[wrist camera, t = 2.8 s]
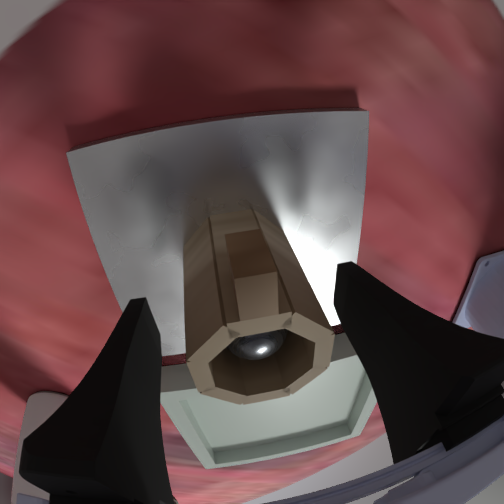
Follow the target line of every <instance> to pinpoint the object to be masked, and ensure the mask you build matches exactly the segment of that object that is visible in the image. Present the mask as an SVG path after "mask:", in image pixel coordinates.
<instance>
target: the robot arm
mask: <svg viewBox="0 0 504 504" xmlns="http://www.w3.org/2000/svg"><path fill="white" fill-rule="evenodd" d="M333 305H334V308H335V311H336V313H337V316H338V319H339V321H340V324H341V326H342V328H343V330H344V332H345V333H346V335H347V337H348V339H349V341H350V343H351V345H352V346H353V348H354V350H355V352H356V354H357V356H358V358H359V360H360V361H361V363H362V365H363V367H364V369H365V371H366V373H367V376H368V378H369V380H370V383H371V386H372V388H373V391H374V394H375V397H376V399H377V402H378V405H379V408H380V412H381V415H382V418H383V421H384V425H385V428H386V432H387V436H388V440H389V444H390V449H391V453H392V458H393V463H394V465H391V466H389V467H387V468H384V469H382V470H379V471H376V472H374V473H371V474H368V475H366V476H363V477H361V478H358V479H355V480H352V481H349V482H346V483H343V484H339V485H336V486H333V487H330V488H326V489H323V490H319V491H316V492H312V493H308V494H304V495H300V496H296V497H292V498H288V499H283V500H278V501H273V502H269V503H264V504H345V503H349V502H352V501H354V500H357V499H360V498H363V497H366V496H368V495H371V494H373V493H376V492H379V491H381V490H384V489H386V488H388V487H391V486H393V485H395V484H397V483H400V482H402V481H404V480H407V479H409V478H411V477H413V476H414V478H412V479H411V480H409V481H407V482H405V483H403V484H401V485H399V486H397V487H395V488H393V489H391V490H389V491H388V493H387V494H386V495H384V496H383V497H381V498H379V499H378V500H376V501H374V503H373V504H465V503H466V502H467V501H469V500H470V499H472V498H473V497H475V496H476V495H477V494H479V493H480V492H481V491H483V490H484V489H485V488H487V487H488V486H489V485H490V484H492V483H493V482H494V481H496V480H497V479H498V478H499V477H500V476H502V475H503V474H504V398H503V397H502V395H501V394H503V393H504V389H503V387H502V386H501V383H502V382H503V381H504V251H501V252H497V253H494V254H491V255H487V256H484V257H481V258H480V259H478V261H477V263H476V265H475V268H474V271H473V274H472V276H471V279H470V281H469V284H468V287H467V289H466V292H465V294H464V296H463V299H462V301H461V304H460V306H459V308H458V310H457V313H456V315H455V317H454V319H453V322H450V321H447V320H445V319H443V318H441V317H439V316H437V315H435V314H433V313H431V312H429V311H427V310H425V309H423V308H421V307H419V306H418V305H416V304H414V303H413V302H411V301H409V300H408V299H406V298H405V297H403V296H401V295H400V294H398V293H397V292H395V291H394V290H392V289H391V288H389V287H388V286H386V285H385V284H384V283H382V282H381V281H379V280H378V279H376V278H375V277H374V276H372V275H371V274H369V273H368V272H367V271H365V270H364V269H362V268H361V267H360V266H358V265H357V264H355V263H354V262H352V261H350V262H345V263H339V264H337V270H336V280H335V289H334V297H333ZM469 327H472V328H473V329H474V331H473V330H470V329H467V328H469ZM161 370H162V350H161V335H160V332H159V330H158V327H157V325H156V322H155V320H154V317H153V314H152V312H151V309H150V307H149V304H148V301H147V299H146V297H142V298H136V299H130V301H129V302H128V304H127V306H126V308H125V310H124V311H123V313H122V315H121V317H120V319H119V321H118V323H117V325H116V326H115V328H114V330H113V332H112V334H111V335H110V337H109V339H108V341H107V342H106V344H105V346H104V347H103V349H102V351H101V352H100V354H99V356H98V357H97V359H96V360H95V362H94V364H93V365H92V367H91V368H90V370H89V371H88V372H87V374H86V375H85V377H84V378H83V379H82V381H81V382H80V383H79V385H78V386H77V387H76V388H75V389H74V391H73V392H72V393H71V394H70V395H69V397H68V398H67V399H66V400H65V401H64V402H63V404H62V405H61V406H60V407H59V408H58V409H57V410H56V411H55V412H54V413H53V414H52V415H51V416H50V417H49V418H48V419H47V420H46V421H45V422H44V423H43V424H41V425H40V426H39V427H38V428H37V429H36V430H34V431H33V432H32V433H31V434H30V435H29V436H27V437H26V438H25V439H24V440H23V445H22V451H21V458H20V465H19V474H20V476H21V477H22V478H23V479H24V480H26V481H27V482H29V483H31V484H33V485H34V486H36V487H38V488H40V489H42V490H44V491H45V492H47V493H49V494H50V496H49V500H46V499H43V498H39V497H35V496H30V495H26V494H22V493H18V494H17V501H16V504H174V500H173V496H172V491H171V487H170V483H169V477H168V472H167V467H166V461H165V454H164V447H163V440H162V430H161V420H160V395H161Z"/></svg>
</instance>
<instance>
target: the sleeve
mask: <svg viewBox="0 0 504 504" xmlns="http://www.w3.org/2000/svg"><path fill="white" fill-rule="evenodd" d="M183 282H184V322H185V346H186V363H187V366H188V368H189V371H190V373H191V376H192V378H193V381H194V383H195V386H196V388H197V390H198V392H200V394H203V395H206V396H210V397H213V398H217V399H220V400H224V401H227V402H231V403H235V404H239V405H241V404H242V403H243V405H246V404H251V403H257V402H262V401H267V400H272V399H277V398H281V397H286V396H290V394H294V393H295V392H297V391H298V390H300V389H301V388H302V387H304V386H305V385H307V384H308V383H309V382H311V381H312V380H313V379H315V378H316V377H317V376H319V375H320V374H321V373H323V372H324V371H325V370H327V369H328V368H327V367H329V366H330V360H331V355H332V349H333V343H334V337H335V333H334V331H333V329H332V327H331V325H330V323H329V321H328V319H327V317H326V315H325V313H324V311H323V308H322V306H321V304H320V302H319V300H318V298H317V296H316V294H315V292H314V290H313V288H312V286H311V284H310V282H309V280H308V278H307V276H306V274H305V272H304V270H303V268H302V266H301V264H300V262H299V260H298V258H297V256H296V254H295V253H294V251H293V249H292V247H291V245H290V243H289V241H288V239H287V237H286V235H285V233H284V231H283V230H282V229H280V228H279V227H278V226H276V225H275V224H273V223H272V222H271V221H269V220H268V219H266V218H265V217H264V216H262V215H261V214H259V213H258V212H256V211H255V210H253V211H252V210H251V209H249V210H242V211H235V212H229V213H222V214H216V215H210V218H208V217H207V218H206V219H205V220H204V222H203V223H202V224H201V225H200V227H199V228H198V229H197V230H196V232H195V233H194V234H193V235H192V237H191V238H190V239H189V240H188V242H187V243H186V244H185V245H184V249H183ZM280 329H287V330H288V333H287V336H286V339H285V341H284V343H283V344H282V346H281V347H280V348H279V349H278V350H277V351H276V352H275V353H274V354H272V355H270V356H269V357H266V358H263V359H259V360H248V359H243V358H240V357H238V356H236V355H234V354H233V353H231V352H230V351H229V350H228V349H227V348H226V347H227V346H228V345H229V344H230V343H231V342H232V341H233V340H234V339H235V338H237V337H243V336H248V335H254V334H259V333H264V332H270V331H275V330H280Z"/></svg>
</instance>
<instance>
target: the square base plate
mask: <svg viewBox="0 0 504 504" xmlns="http://www.w3.org/2000/svg"><path fill="white" fill-rule="evenodd" d="M368 131H369V111H367V110H365V109H362V108H317V109H296V110H280V111H268V112H257V113H247V114H238V115H229V116H221V117H214V118H207V119H200V120H193V121H187V122H181V123H175V124H170V125H164V126H159V127H154V128H149V129H144V130H139V131H135V132H130V133H126V134H122V135H117V136H113V137H109V138H105V139H101V140H97V141H93V142H90V143H86V144H82V145H79V146H75V147H72V148H71V149H70V150H69V151H68V152H66V154H67V158H68V162H69V165H70V169H71V173H72V176H73V180H74V183H75V186H76V190H77V193H78V196H79V200H80V203H81V206H82V209H83V212H84V215H85V218H86V221H87V224H88V227H89V230H90V233H91V235H92V238H93V241H94V244H95V246H96V249H97V252H98V254H99V257H100V260H101V262H102V265H103V267H104V270H105V272H106V275H107V277H108V280H109V282H110V284H111V287H112V289H113V292H114V294H115V296H116V299H117V301H118V303H119V305H120V308H121V310H122V312H123V311H124V310H125V308H126V306H127V304H128V302H129V301H130V299H136V298H142V297H146V299H147V301H148V304H149V307H150V309H151V312H152V314H153V317H154V320H155V322H156V325H157V327H158V330H159V332H160V335H161V350H162V356H168V355H176V354H183V353H186V346H185V322H184V282H183V249H184V245H185V244H186V243H187V242H188V240H189V239H190V238H191V237H192V235H193V234H194V233H195V232H196V230H197V229H198V228H199V227H200V225H201V224H202V223H203V222H204V220H205V219H206V218H207V217H208V218H210V215H216V214H222V213H229V212H235V211H242V210H249V209H251V210H252V211H253V210H255V211H256V212H258V213H259V214H261V215H262V216H264V217H265V218H266V219H268V220H269V221H271V222H272V223H273V224H275V225H276V226H278V227H279V228H280V229H282V230H283V231H284V233H285V235H286V237H287V239H288V241H289V243H290V245H291V247H292V249H293V251H294V253H295V254H296V256H297V258H298V260H299V262H300V264H301V266H302V268H303V270H304V272H305V274H306V276H307V278H308V280H309V282H310V284H311V286H312V288H313V290H314V292H315V294H316V296H317V298H318V300H319V302H320V304H321V306H322V308H323V311H324V313H325V315H326V317H327V319H328V321H329V323H330V325H331V326H332V325H337V324H340V321H339V319H338V316H337V313H336V311H335V308H334V305H333V297H334V289H335V280H336V270H337V264H339V263H345V262H350V261H352V262H354V263H355V264H357V256H358V249H359V241H360V233H361V224H362V215H363V205H364V194H365V182H366V168H367V152H368ZM287 333H288V330H287V329H280V330H275V331H270V332H264V333H259V334H254V335H248V336H243V337H237V338H235V339H234V340H233V341H232V342H231V343H230V344H229V345H228V346H227V347H226V348H227V349H228V350H229V351H230V352H231V353H233V354H234V355H236V356H238V357H240V358H243V359H248V360H259V359H263V358H266V357H269V356H270V355H272V354H274V353H275V352H276V351H277V350H278V349H279V348H280V347H281V346H282V344H283V343H284V341H285V339H286V336H287Z"/></svg>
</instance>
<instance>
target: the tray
mask: <svg viewBox="0 0 504 504" xmlns="http://www.w3.org/2000/svg"><path fill="white" fill-rule="evenodd" d="M327 368H328V369H327V370H325V371H324V372H323V373H321V374H320V375H319V376H317V377H316V378H315V379H313V380H312V381H311V382H309V383H308V384H307V385H305V386H304V387H302V388H301V389H300V390H298V391H297V392H295V393H294V394H290V396H286V397H281V398H277V399H272V400H267V401H262V402H257V403H251V404H246V405H243V403H242V404H241V405H239V404H235V403H231V402H227V401H224V400H220V399H217V398H213V397H210V396H206V395H203V394H200V392H198V390H197V388H196V386H195V383H194V381H193V378H192V376H191V373H190V371H189V368H188V366H187V363H186V364H178V365H170V366H162V370H161V395H160V403H161V404H162V406H163V407H164V409H165V411H166V412H167V414H168V415H169V417H170V418H171V420H172V421H173V423H174V425H175V426H176V428H177V429H178V431H179V432H180V433H181V435H182V436H183V438H184V439H185V441H186V442H187V444H188V445H189V447H190V448H191V449H192V451H193V452H194V454H195V455H196V456H197V458H198V459H199V460H200V462H201V463H202V464H203V466H204V467H205V469H211V468H219V467H226V466H233V465H240V464H246V463H252V462H258V461H263V460H268V459H273V458H278V457H283V456H287V455H291V454H296V453H300V452H304V451H308V450H312V449H315V448H319V447H323V446H326V445H330V444H333V443H337V442H340V441H343V440H346V439H349V438H353V437H356V436H359V435H360V434H361V432H362V430H363V428H364V426H365V424H366V422H367V420H368V418H369V416H370V414H371V412H372V410H373V408H374V406H375V404H376V402H377V399H376V397H375V394H374V391H373V388H372V386H371V383H370V380H369V378H368V376H367V373H366V371H365V369H364V367H363V365H362V363H361V361H360V360H359V358H358V356H357V354H356V352H355V350H354V348H353V346H352V345H351V343H350V341H349V339H348V337H347V335H346V333H341V334H337V335H335V337H334V343H333V349H332V355H331V360H330V366H329V367H327Z"/></svg>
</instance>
